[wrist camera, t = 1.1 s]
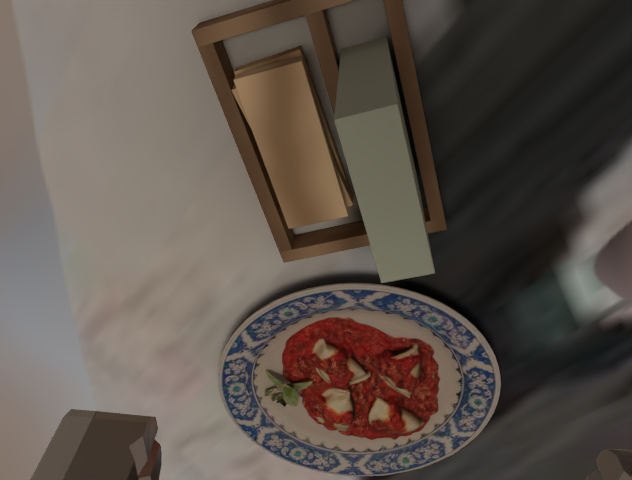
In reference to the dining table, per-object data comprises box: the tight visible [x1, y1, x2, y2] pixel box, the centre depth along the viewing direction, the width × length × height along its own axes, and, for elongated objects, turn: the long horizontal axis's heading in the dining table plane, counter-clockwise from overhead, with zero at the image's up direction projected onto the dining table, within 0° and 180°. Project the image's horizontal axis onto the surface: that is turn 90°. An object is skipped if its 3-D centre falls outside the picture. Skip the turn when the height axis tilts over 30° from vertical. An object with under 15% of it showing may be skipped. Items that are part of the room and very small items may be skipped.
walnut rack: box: [192, 0, 447, 262], centre depth 38 cm, size 13×18×2 cm
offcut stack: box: [231, 46, 354, 229], centre depth 38 cm, size 5×12×4 cm, turn 19°
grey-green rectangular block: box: [334, 36, 435, 283], centre depth 33 cm, size 3×10×12 cm, turn 17°
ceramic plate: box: [218, 283, 501, 476], centre depth 52 cm, size 26×26×3 cm
